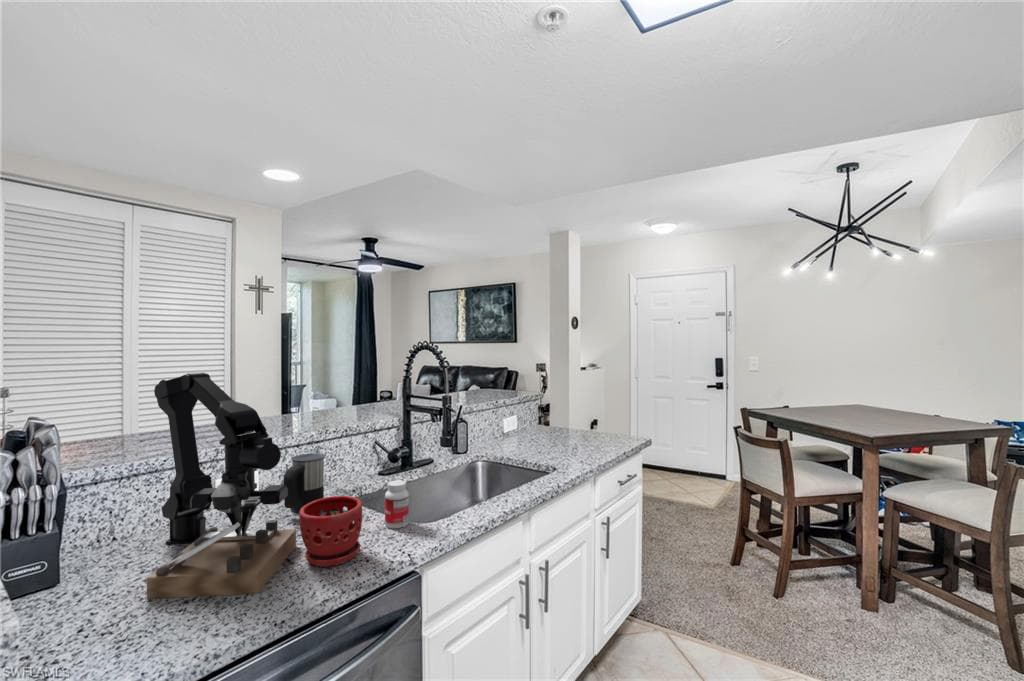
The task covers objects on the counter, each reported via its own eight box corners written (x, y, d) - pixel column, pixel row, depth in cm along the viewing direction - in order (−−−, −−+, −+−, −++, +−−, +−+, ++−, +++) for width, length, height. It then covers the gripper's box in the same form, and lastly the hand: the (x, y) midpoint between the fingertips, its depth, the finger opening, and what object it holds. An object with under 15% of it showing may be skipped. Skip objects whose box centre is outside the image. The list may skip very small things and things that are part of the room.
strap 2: (202, 541, 106) (202, 537, 106) (209, 535, 109) (209, 532, 109) (268, 538, 107) (268, 535, 107) (274, 533, 110) (274, 529, 110)
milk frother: (296, 502, 143) (296, 453, 142) (351, 500, 144) (351, 451, 144) (278, 520, 128) (278, 465, 128) (339, 518, 130) (339, 464, 130)
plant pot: (318, 544, 114) (318, 494, 114) (371, 546, 113) (371, 496, 113) (287, 570, 101) (287, 514, 101) (346, 573, 100) (346, 516, 100)
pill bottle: (383, 521, 128) (384, 480, 128) (407, 518, 130) (407, 478, 130) (385, 530, 122) (386, 487, 122) (410, 527, 124) (410, 485, 124)
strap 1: (167, 569, 93) (165, 566, 93) (176, 562, 96) (174, 558, 96) (233, 531, 94) (231, 527, 94) (240, 525, 97) (238, 521, 97)
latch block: (146, 598, 90) (146, 564, 90) (206, 549, 111) (206, 521, 111) (258, 593, 92) (258, 559, 92) (295, 546, 113) (295, 518, 113)
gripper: (174, 477, 99) (176, 552, 99) (268, 473, 101) (270, 546, 101) (203, 463, 110) (204, 531, 110) (287, 459, 112) (289, 526, 112)
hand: (241, 533), depth 108 cm, fingers closed, pressing on strap 2
